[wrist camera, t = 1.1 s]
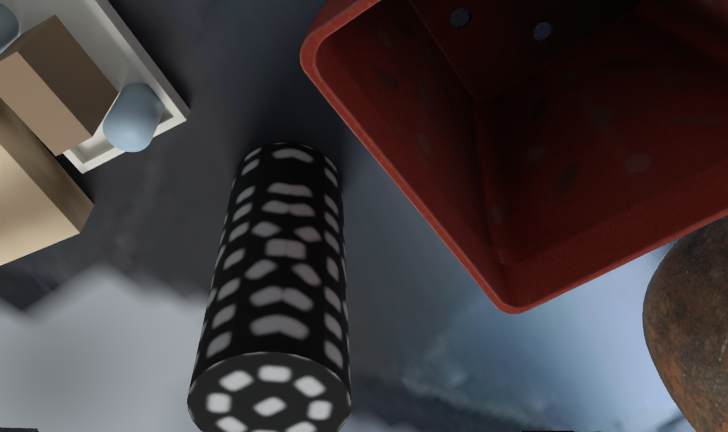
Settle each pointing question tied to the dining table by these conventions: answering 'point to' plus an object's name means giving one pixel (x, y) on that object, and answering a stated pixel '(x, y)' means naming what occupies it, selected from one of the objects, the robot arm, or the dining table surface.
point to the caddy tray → (110, 59)
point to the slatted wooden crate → (34, 193)
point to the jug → (692, 325)
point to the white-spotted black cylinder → (277, 302)
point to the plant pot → (537, 126)
